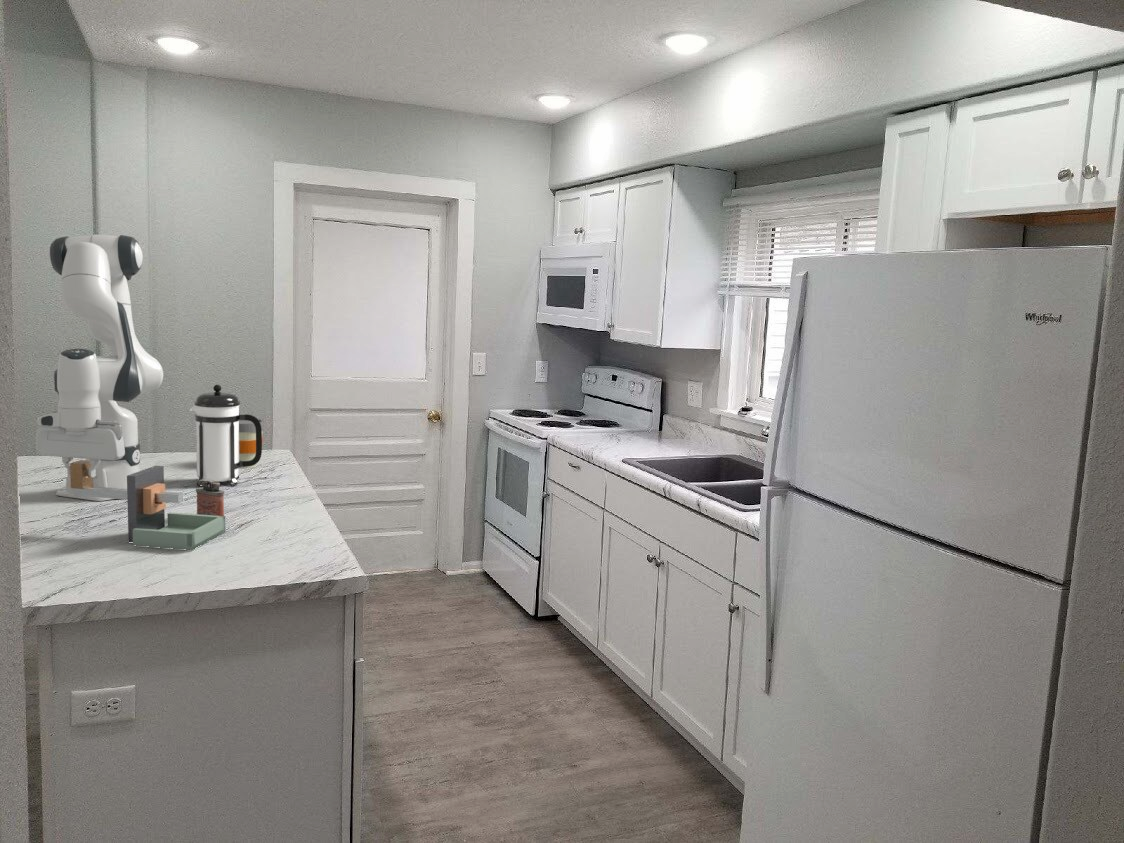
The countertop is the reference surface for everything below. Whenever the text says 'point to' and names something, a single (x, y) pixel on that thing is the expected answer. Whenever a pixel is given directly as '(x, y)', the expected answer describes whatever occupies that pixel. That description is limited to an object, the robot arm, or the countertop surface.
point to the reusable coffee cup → (248, 441)
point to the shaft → (85, 487)
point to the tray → (181, 531)
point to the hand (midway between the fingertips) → (81, 476)
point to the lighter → (210, 499)
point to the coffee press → (221, 436)
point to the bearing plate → (135, 500)
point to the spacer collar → (152, 499)
